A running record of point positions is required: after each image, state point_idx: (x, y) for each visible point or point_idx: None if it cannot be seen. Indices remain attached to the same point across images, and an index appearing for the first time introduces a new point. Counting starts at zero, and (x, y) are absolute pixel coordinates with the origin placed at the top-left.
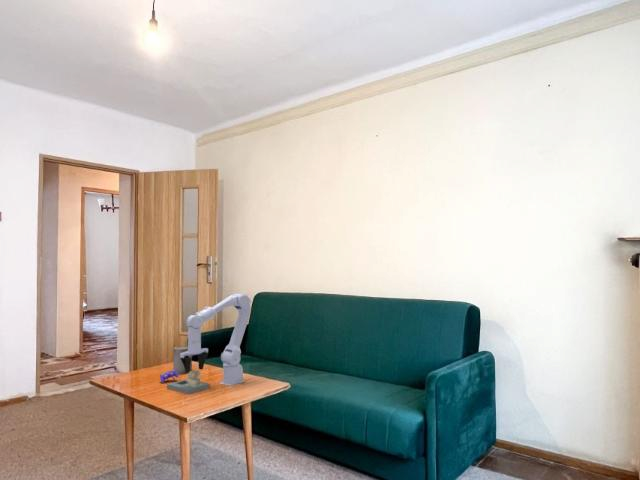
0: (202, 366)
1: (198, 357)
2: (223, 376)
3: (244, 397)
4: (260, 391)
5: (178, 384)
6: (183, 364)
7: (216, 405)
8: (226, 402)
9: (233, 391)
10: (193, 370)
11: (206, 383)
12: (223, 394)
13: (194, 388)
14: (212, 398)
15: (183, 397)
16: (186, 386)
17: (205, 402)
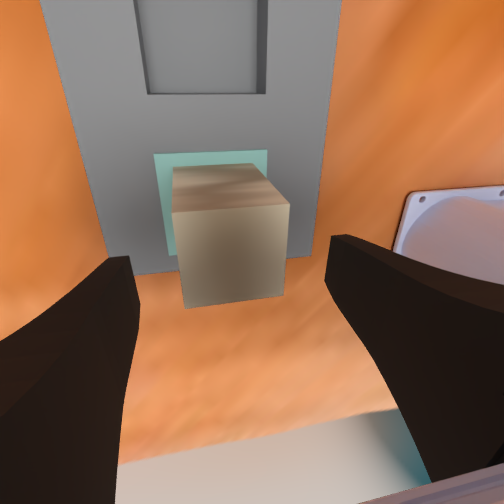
0: (342, 310)
1: (452, 319)
2: (444, 248)
3: (278, 424)
4: (366, 403)
5: (124, 44)
6: (26, 331)
7: (139, 445)
8: (192, 436)
9: (322, 349)
10: (268, 207)
11: (301, 237)
12: (262, 358)
13: (170, 269)
14: (187, 375)
15: (69, 269)
16: (148, 187)
17: (126, 401)
